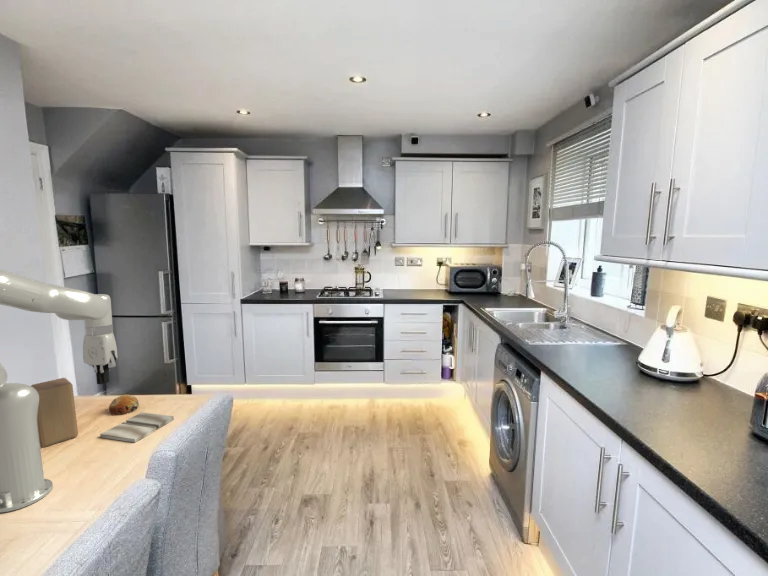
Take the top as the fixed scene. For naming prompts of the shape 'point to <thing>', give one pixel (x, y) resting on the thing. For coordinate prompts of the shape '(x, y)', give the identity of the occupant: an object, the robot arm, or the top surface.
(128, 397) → the blueberry muffin
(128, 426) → the loose plank
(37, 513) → the top surface
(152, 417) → the laid board
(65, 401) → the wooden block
